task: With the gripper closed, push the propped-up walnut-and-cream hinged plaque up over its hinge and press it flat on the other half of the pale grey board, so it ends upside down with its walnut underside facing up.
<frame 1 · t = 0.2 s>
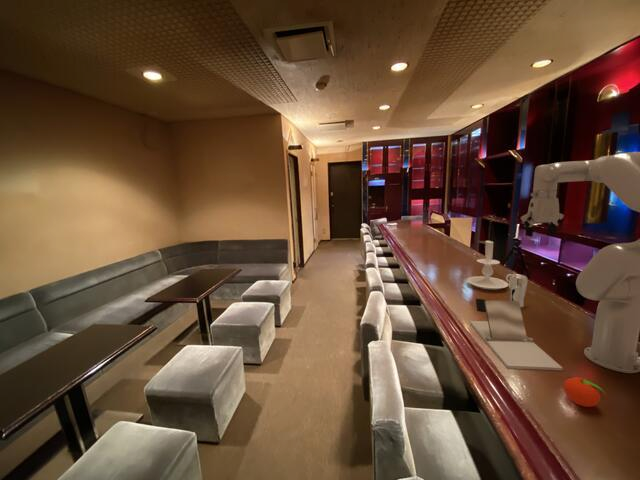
hand: (540, 235, 112), 37 cm above the bar counter, tool pointing down, fingers open, 9 cm apart
plaque base: (508, 343, 99), on the bar counter
candlestick: (490, 287, 153), on the bar counter
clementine: (582, 404, 71), on the bar counter
beer glass: (516, 305, 129), on the bar counter
flip plaque: (504, 319, 101), point 8 cm above the bar counter, hinge at 60.0°
smartphone: (484, 307, 130), on the bar counter
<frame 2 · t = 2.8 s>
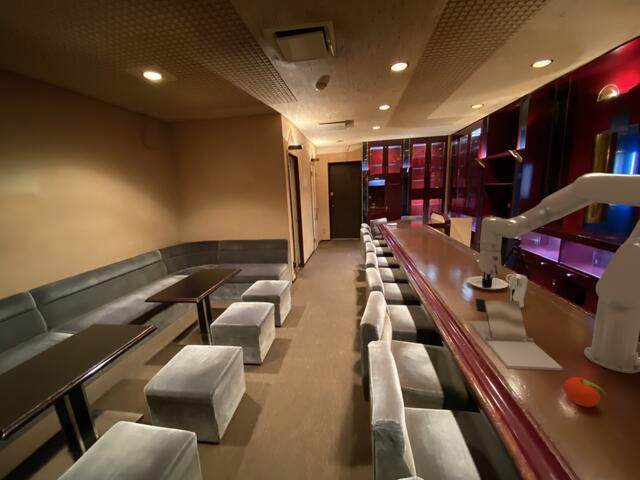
hand: (486, 287, 114), 15 cm above the bar counter, tool pointing down, fingers closed
nothing on the bar counter moved.
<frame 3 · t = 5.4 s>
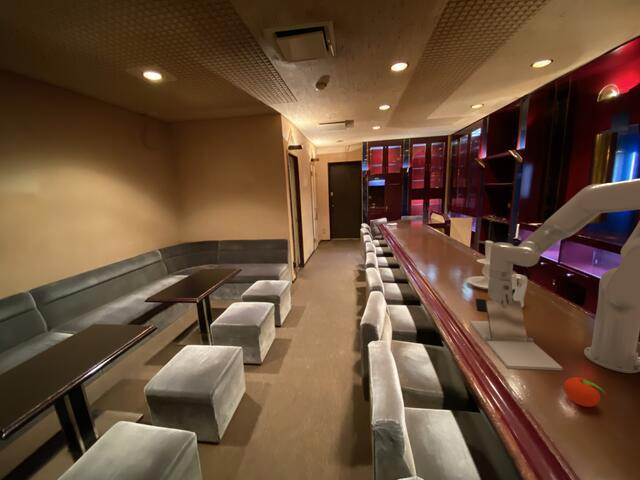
hand: (497, 316, 107), 6 cm above the bar counter, tool pointing down, fingers closed
flip plaque: (505, 319, 101), point 8 cm above the bar counter, hinge at 64.5°, touching gripper
everything else where it was.
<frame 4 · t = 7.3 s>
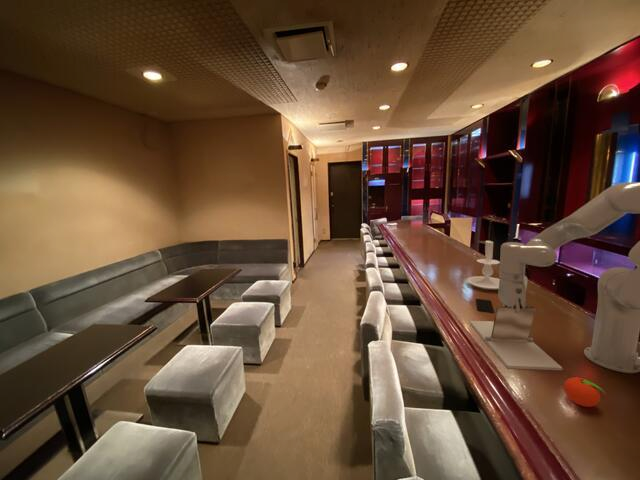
hand: (508, 322, 99), 8 cm above the bar counter, tool pointing down, fingers closed
flip plaque: (512, 323, 96), point 9 cm above the bar counter, hinge at 100.8°, touching gripper
everything else where it was.
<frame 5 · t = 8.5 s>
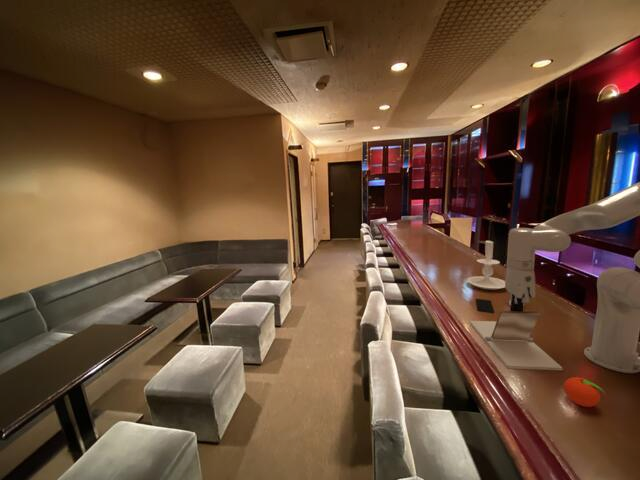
hand: (516, 312, 94), 14 cm above the bar counter, tool pointing down, fingers closed
flip plaque: (514, 326, 95), point 8 cm above the bar counter, hinge at 111.0°, touching gripper
everything else where it was.
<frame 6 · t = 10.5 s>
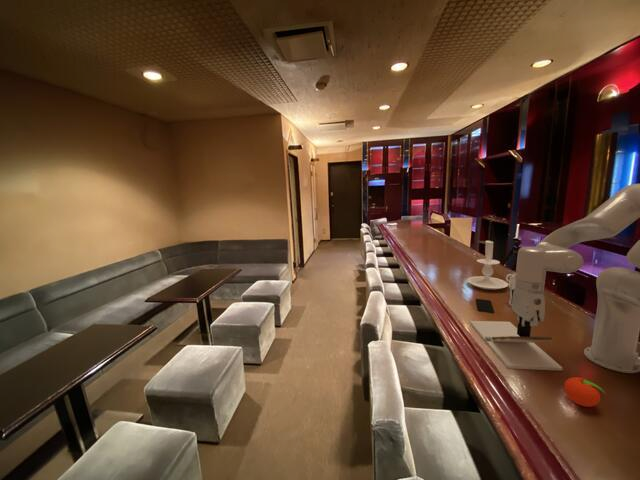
hand: (523, 335, 89), 8 cm above the bar counter, tool pointing down, fingers closed
flip plaque: (519, 339, 92), point 5 cm above the bar counter, hinge at 148.0°, touching gripper
everything else where it was.
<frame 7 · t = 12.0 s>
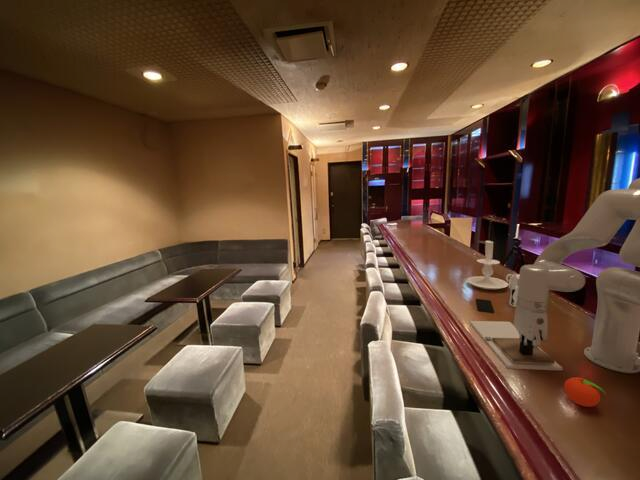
hand: (525, 353, 88), 3 cm above the bar counter, tool pointing down, fingers closed
flip plaque: (520, 349, 92), point 2 cm above the bar counter, hinge at 176.8°, touching gripper
everything else where it was.
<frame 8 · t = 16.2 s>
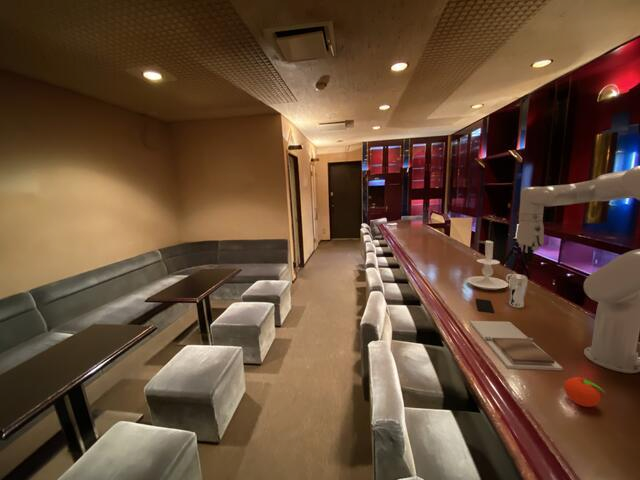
hand: (526, 261, 109), 27 cm above the bar counter, tool pointing down, fingers closed
flip plaque: (520, 349, 92), point 2 cm above the bar counter, hinge at 177.1°
everything else where it was.
at the end: flip plaque at +177° (first picture: +60°) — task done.
